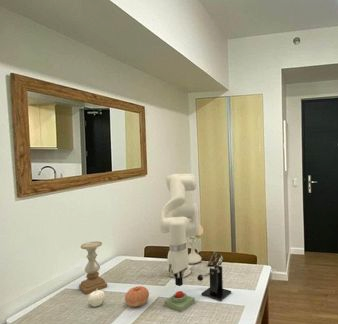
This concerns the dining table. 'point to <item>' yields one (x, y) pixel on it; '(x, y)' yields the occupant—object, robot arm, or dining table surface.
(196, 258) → the flower in vase
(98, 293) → the plain white apple
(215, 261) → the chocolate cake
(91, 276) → the candle holder
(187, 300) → the control block
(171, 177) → the robot arm
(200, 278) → the lever
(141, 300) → the orange pumpkin
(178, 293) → the button
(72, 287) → the dining table surface
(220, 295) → the bracket
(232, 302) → the dining table surface
